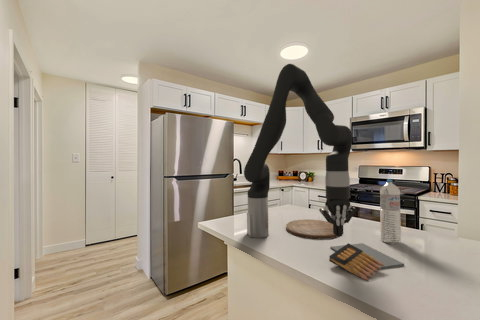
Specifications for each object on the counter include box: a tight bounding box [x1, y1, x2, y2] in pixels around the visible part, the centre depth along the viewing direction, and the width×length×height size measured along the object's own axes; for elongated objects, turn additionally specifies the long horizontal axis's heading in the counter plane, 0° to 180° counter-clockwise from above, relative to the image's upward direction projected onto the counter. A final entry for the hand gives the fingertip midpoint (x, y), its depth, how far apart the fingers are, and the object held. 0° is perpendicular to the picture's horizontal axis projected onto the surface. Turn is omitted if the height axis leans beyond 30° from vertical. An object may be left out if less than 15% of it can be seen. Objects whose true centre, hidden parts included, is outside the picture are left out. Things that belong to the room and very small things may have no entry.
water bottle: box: [379, 179, 402, 245], centre depth 92 cm, size 7×7×25 cm
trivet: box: [285, 218, 337, 240], centre depth 109 cm, size 25×25×2 cm
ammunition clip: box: [328, 243, 384, 281], centre depth 71 cm, size 11×2×12 cm
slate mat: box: [330, 242, 405, 270], centre depth 79 cm, size 14×18×1 cm
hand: (338, 235), depth 77 cm, fingers closed
